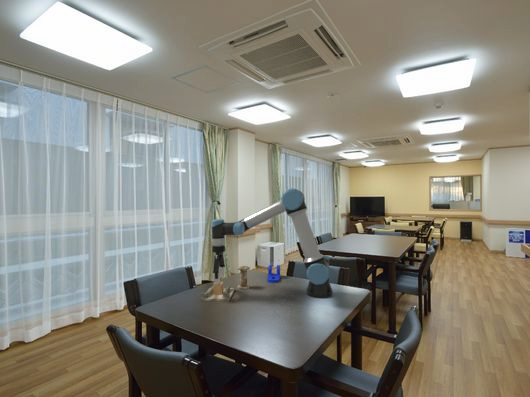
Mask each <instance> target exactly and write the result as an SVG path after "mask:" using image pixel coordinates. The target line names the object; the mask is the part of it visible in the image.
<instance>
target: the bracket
mask: <svg viewBox="0 0 530 397" xmlns="http://www.w3.org/2000/svg"><path fill="white" fill-rule="evenodd" d="M267 268H268V269H267V270H268V271H267V272H268V274H267V278H266V279H267V283H271V284H276V283H277V284H278V283H280V279H281V265H280V264H278V265H276V273H273V266H272V264H269V265H268V267H267Z"/></svg>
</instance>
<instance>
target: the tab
mask: <svg viewBox="0 0 530 397" xmlns="http://www.w3.org/2000/svg"><path fill="white" fill-rule="evenodd" d="M212 286H213V294H222V293H223V288H224V281H221V280H219V284H215V282H213V284H212Z"/></svg>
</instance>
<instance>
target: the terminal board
mask: <svg viewBox="0 0 530 397" xmlns="http://www.w3.org/2000/svg"><path fill="white" fill-rule="evenodd" d="M235 291H236V287H231V285H230V284H227V286H226V287H223V293H222V294H213V285H212V286H211V287H209V288H208V290H206V292H201V298H200V300H201V302H202V301H203V302H204V301H205V302H206V301H207V302H215V301H216V302H230V300H231V298H232V296H233V294H234V292H235Z"/></svg>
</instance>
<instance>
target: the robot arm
mask: <svg viewBox="0 0 530 397" xmlns="http://www.w3.org/2000/svg"><path fill="white" fill-rule="evenodd" d="M305 200H306V198H305V195H304V192H302V191H301V190H300V189H298V188H293V187H291V188H288V189H286V190H285V191H283V193H282V195H281V197H280V199H279V200H277V201H276V202H275V203H272V204H270V205H269V206H266V207H264V208H262V209H260V210H258V211H256V212H255V213H252V214H251V215H248V216H246V217H244V218H243V219H241V220H238V221H235V222H225V219H223V218H222V219H220V218H217V219H213V220H212V221H211V240H210V241H211V244H212V246H211V248H212V249H211V250H212V253H215V255H213V256H214V257H213V271H212V274H213V275H214V276H213V277H214V278H213V279H214V282H213V283H215V284H219V281H220V279H224V278H225V268H226V264H225V260H224V259H225V258H224V253H225V251H226V237H225V236H243V235H244V233H246V232H247V231H249V230H252V229H253V228H255V227H257V226H259V225H261V224H262V223H265V222H267V221H268V220H271V219H273V218H275V217H277V216H279V215H281V214H283V213H286V215H287V216H288V217H289V218H290V219H291V221H292V224H293V226H294V230H295V233H296V236H297V238H298V242H299V245H300V247H301V251H302V253H303V255H304V260H303V264H304V267H305V270H306V277H307V279H308V280H309V281H308V284H307V288H306V295H307V296H309V297H312V298H317V299H325V298H331V297H332V296H333V289H332V286H331V283H330V257H329V256H328V255H324V254H322V253H321V252H320V250H319V247H318V244H317V241H316V238H315V236H314V232H313V230H312V228H311V224H310V221H309V219H308V216H307V213H306V212H307V210H308V207H307V204H306V201H305Z"/></svg>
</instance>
